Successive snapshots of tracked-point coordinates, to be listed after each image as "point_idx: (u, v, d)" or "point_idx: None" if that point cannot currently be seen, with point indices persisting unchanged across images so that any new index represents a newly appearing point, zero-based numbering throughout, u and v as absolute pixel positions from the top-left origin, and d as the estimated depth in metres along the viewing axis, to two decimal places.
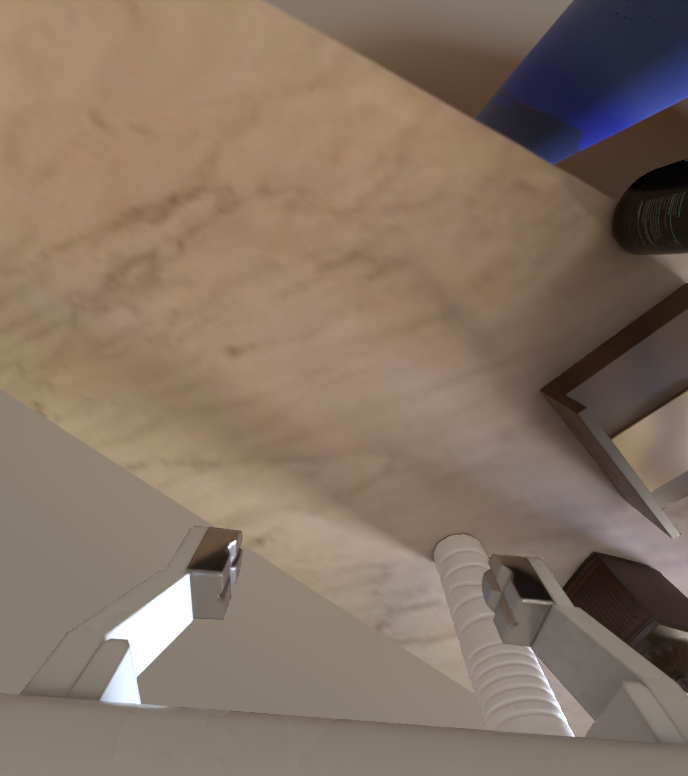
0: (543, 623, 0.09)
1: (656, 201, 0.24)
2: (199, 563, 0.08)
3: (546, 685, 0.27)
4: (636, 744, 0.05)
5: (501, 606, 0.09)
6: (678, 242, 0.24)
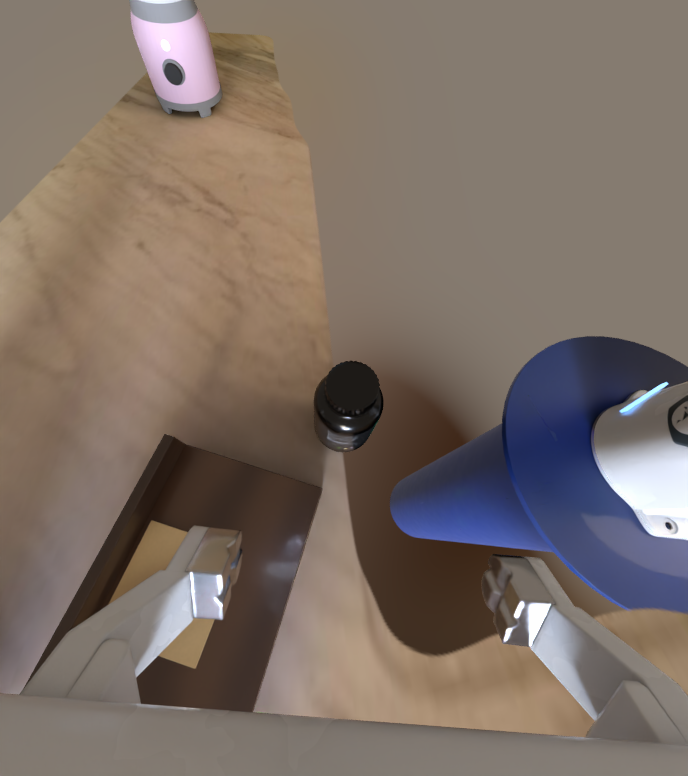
0: (543, 623, 0.09)
1: None
2: (199, 563, 0.08)
3: None
4: (636, 744, 0.05)
5: (501, 606, 0.09)
6: None
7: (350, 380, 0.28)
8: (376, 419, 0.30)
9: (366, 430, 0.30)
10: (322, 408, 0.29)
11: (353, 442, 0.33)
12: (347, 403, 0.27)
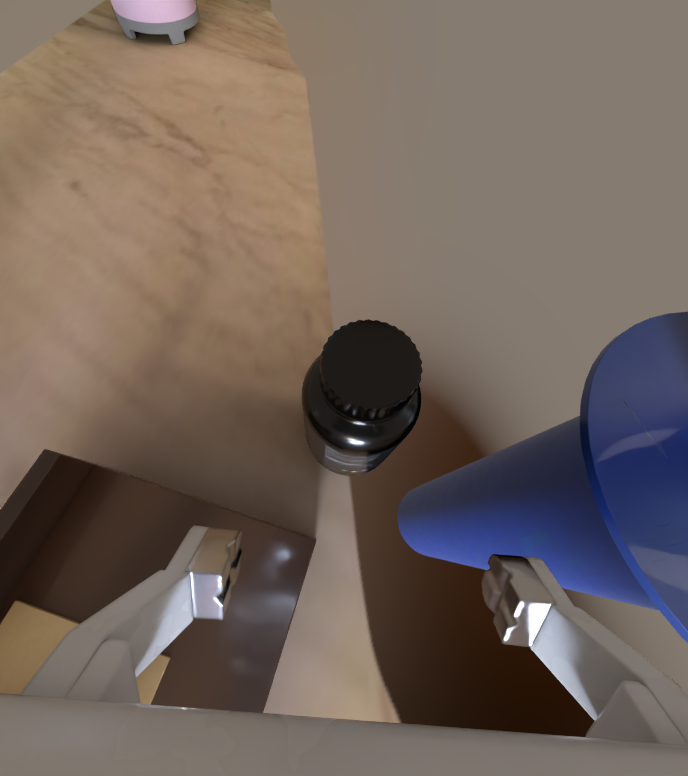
0: (543, 623, 0.09)
1: None
2: (199, 563, 0.08)
3: None
4: (636, 744, 0.05)
5: (501, 606, 0.09)
6: None
7: (368, 353, 0.15)
8: (410, 426, 0.17)
9: (393, 445, 0.17)
10: (316, 406, 0.17)
11: (368, 463, 0.20)
12: (363, 396, 0.14)
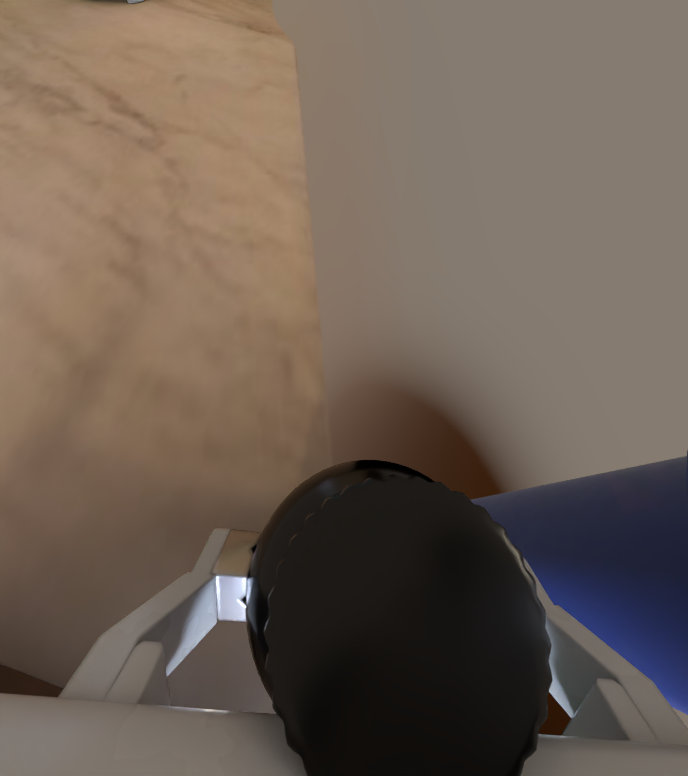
0: None
1: None
2: (224, 566, 0.08)
3: None
4: (636, 744, 0.05)
5: None
6: None
7: (399, 591, 0.05)
8: None
9: None
10: None
11: None
12: None
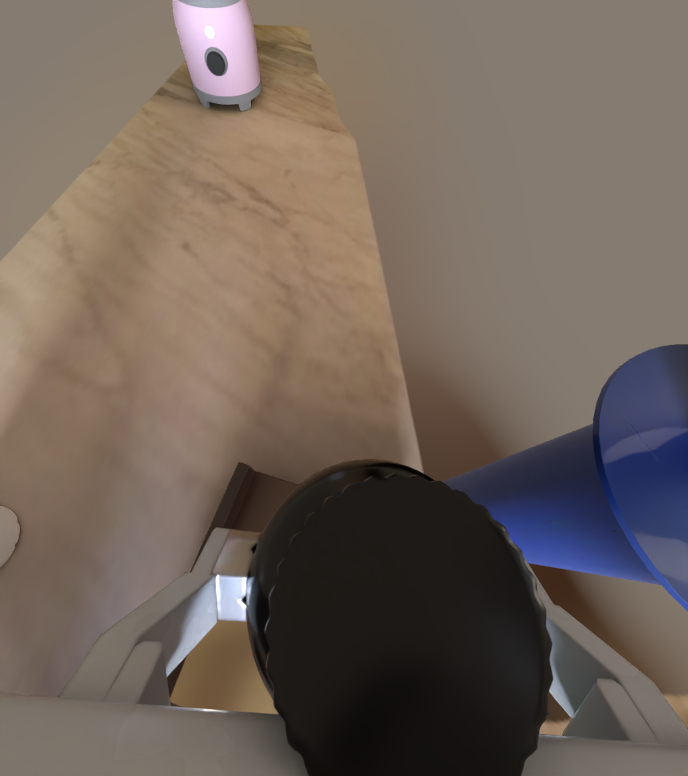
0: None
1: None
2: (224, 566, 0.08)
3: None
4: (636, 744, 0.05)
5: None
6: None
7: (400, 590, 0.05)
8: None
9: None
10: None
11: None
12: (391, 774, 0.04)
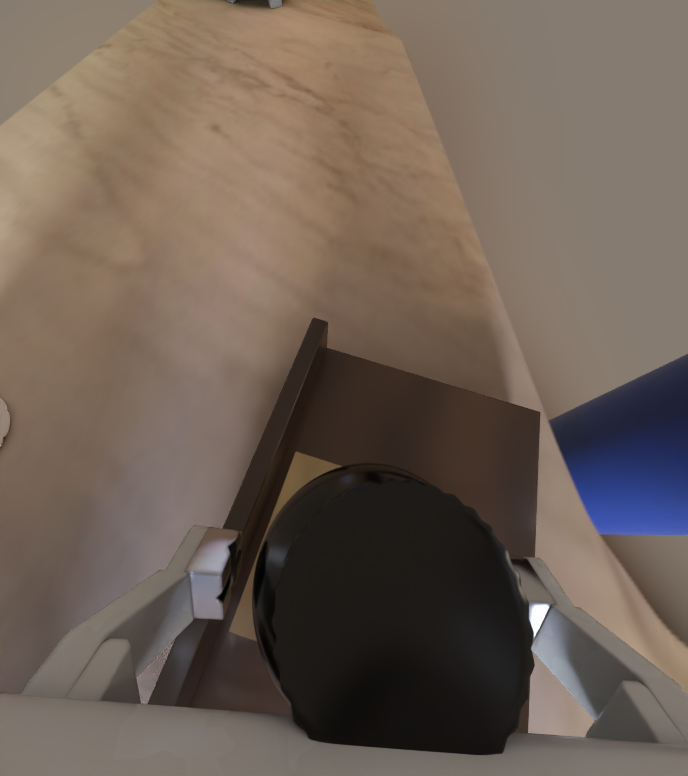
0: (543, 623, 0.09)
1: None
2: (199, 563, 0.08)
3: None
4: (636, 744, 0.05)
5: None
6: None
7: (395, 585, 0.06)
8: None
9: None
10: None
11: None
12: None
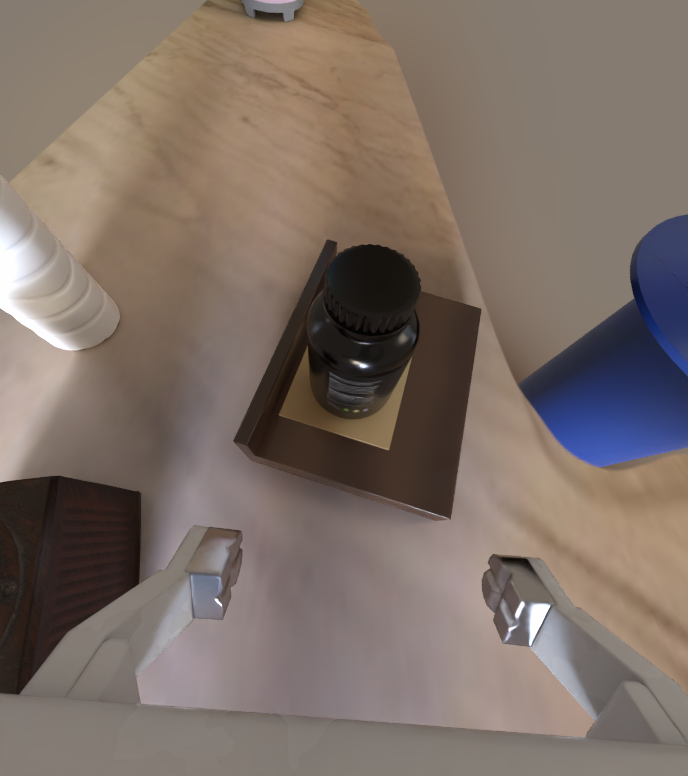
0: (543, 623, 0.09)
1: None
2: (199, 563, 0.08)
3: None
4: (636, 744, 0.05)
5: (501, 606, 0.09)
6: None
7: (370, 271, 0.16)
8: (410, 351, 0.18)
9: (393, 369, 0.18)
10: (320, 330, 0.17)
11: (369, 396, 0.21)
12: (365, 306, 0.15)
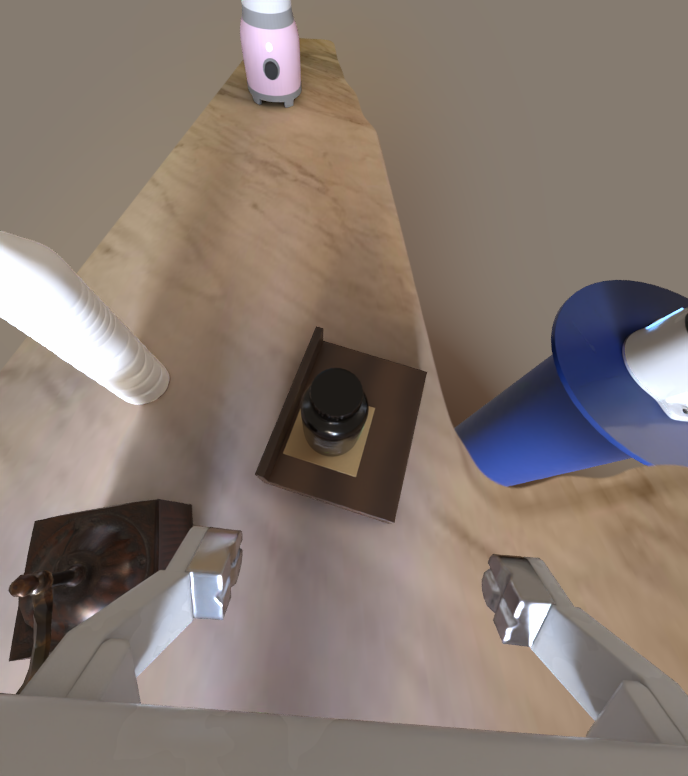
0: (543, 623, 0.09)
1: None
2: (199, 563, 0.08)
3: (93, 316, 0.29)
4: (636, 744, 0.05)
5: (501, 606, 0.09)
6: None
7: (335, 386, 0.28)
8: (361, 425, 0.30)
9: (351, 435, 0.31)
10: (308, 414, 0.30)
11: (340, 447, 0.33)
12: (331, 409, 0.27)
